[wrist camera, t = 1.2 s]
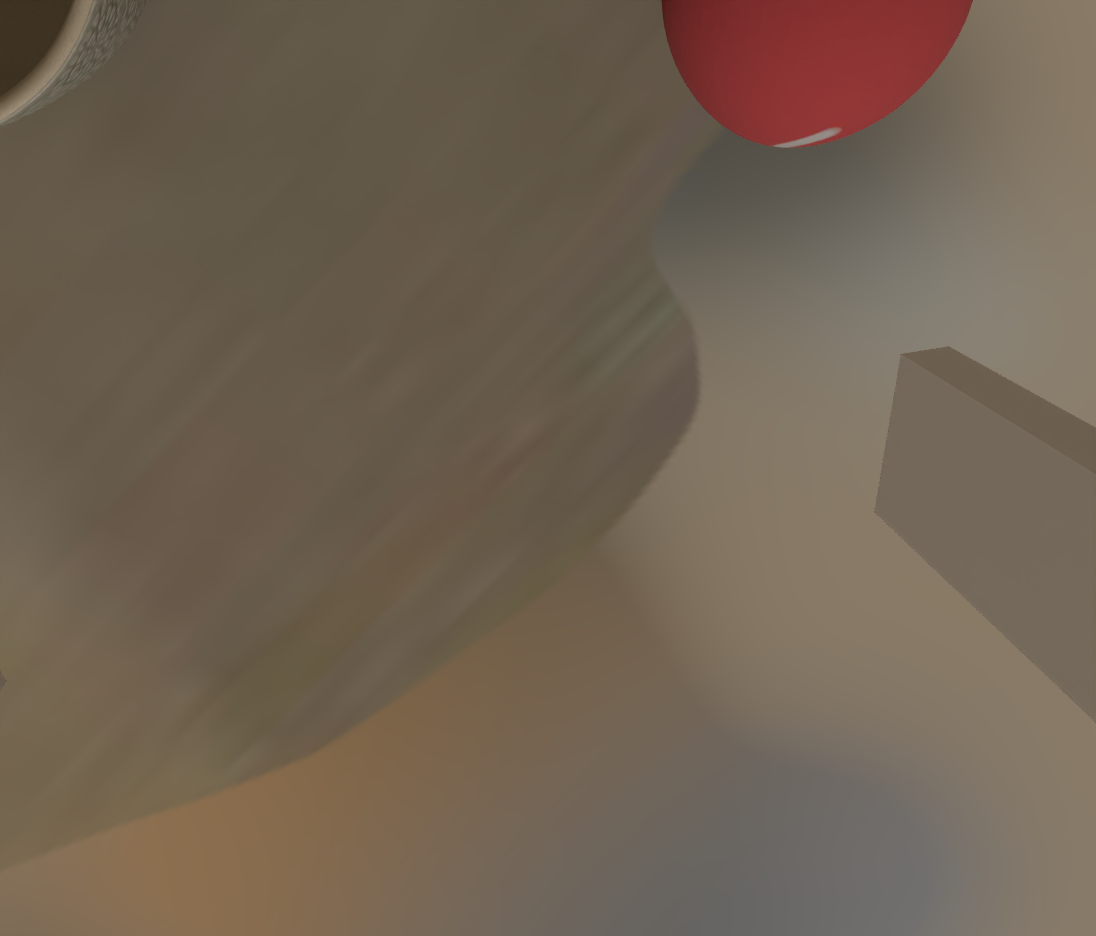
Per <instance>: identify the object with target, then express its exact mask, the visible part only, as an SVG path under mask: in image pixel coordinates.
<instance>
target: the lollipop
mask: <svg viewBox="0 0 1096 936" xmlns="http://www.w3.org/2000/svg"><path fill="white" fill-rule="evenodd" d="M972 1H973V0H662V11H663V20H664V27H665V31H666V36H667V40H668V44H669V47H670V50H671V53H672V56H673V59H674V61H675V64H676V66H677V68H678V70H679V72H680V74H681V76H682V78H683V80H684V81H685V83H686V85H687V87H688V88H689V90H690V91H691V93H692V94H693V95H694V97H695V98H696V99H697V101H698V102H699V103H700V104H701V105H702V107H703V108H704V109H705V110H706V111H707V112H708V113H709V114H710V115H711V116H712V117H713V118H714V119H716V120H717V121H718V122H719V123H720V124H722V125H723V126H724V127H726V128H727V129H729V130H731V131H732V132H734V133H735V134H737V135H739V136H741V137H743V138H746V139H748V140H750V141H753V142H756V143H760V144H763V145H767V146H774V147H791V148H792V147H806V146H813V145H818V144H822V143H827V142H831V141H834V140H837V139H840V138H843V137H846V136H848V135H851V134H853V133H855V132H858V131H859V130H862V129H864V128H866V127H868V126H870V125H872V124H873V123H875V122H877V121H879V120H880V119H882V118H884V117H885V116H887V115H888V114H889V113H891V112H892V111H894V110H895V109H897V108H898V107H899V106H900V105H902V104H903V103H904V102H905V101H906V100H908V99H909V98H910V97H911V96H912V95H913V94H914V93H915V92H916V91H917V90H918V89H919V88H920V87H921V86H922V85H923V84H924V83H925V82H926V81H927V80H928V79H929V78H930V77H931V75H932V74H933V73H934V72H935V70H936V69H937V68H938V67H939V65H940V64H941V63H942V61H943V60H944V59H945V57H946V56H947V54H948V52H949V51H950V49H951V48H952V46H953V44H954V42H955V41H956V39H957V37H958V36H959V33H960V31H961V29H962V27H963V25H964V23H965V21H966V18H967V16H968V13H969V10H970V7H971V4H972Z"/></svg>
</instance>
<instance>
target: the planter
mask: <svg viewBox="0 0 1096 936" xmlns="http://www.w3.org/2000/svg"><path fill="white" fill-rule="evenodd" d="M145 2H146V0H0V127H3V126H5V125H7V124H10V123H12V122H14V121H17V120H19V119H21V118H23V117H25V116H27V115H29V114H31V113H33V112H35V111H37V110H39V109H41V108H43V107H45V106H46V105H48V104H50V103H52V102H53V101H55V100H56V99H58V98H59V97H61V96H63V95H64V94H66V93H68V92H69V91H71V90H73V89H74V88H76V87H77V86H79V85H80V84H82V83H83V82H84V81H86V80H87V79H88V78H89V77H91V76H92V75H93V74H94V73H96V72H97V71H98V70H99V69H100V68H101V67H103V66H104V65H105V64H106V63H107V62H108V61H109V60H110V59H111V58H112V56H113V55H114V54H115V53H116V52H117V51H118V49H119V48H120V47H121V46H122V44H123V43H124V42H125V40H126V39H127V37H128V36H129V34H130V33H131V31H132V30H133V28H134V26H135V25H136V23H137V21H138V19H139V17H140V15H141V12H142V10H143V8H144V5H145Z"/></svg>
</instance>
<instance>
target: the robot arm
mask: <svg viewBox="0 0 1096 936" xmlns="http://www.w3.org/2000/svg"><path fill="white" fill-rule="evenodd" d="M874 512H875V513H876V514H877V515H878V516H879V517H880V518H881V519H882V520H883V521H884V522H885V523H886V524H887V525H888V526H889V527H891V528H892V529H893V530H894V531H895V532H896V533H897V534H898V535H899V536H900V537H901V538H902V539H903V540H904V541H905V542H906V543H907V544H908V545H909V546H911V547H912V548H913V549H914V550H915V551H916V552H917V553H918V554H919V555H920V556H921V557H922V558H923V559H924V560H925V561H926V562H927V563H928V564H929V565H930V566H931V567H933V568H934V569H935V570H936V571H937V572H938V573H939V574H940V575H941V576H942V577H943V578H944V579H945V580H946V581H947V582H948V583H949V584H950V585H952V586H953V587H954V588H955V589H956V590H957V591H958V592H959V593H960V594H961V595H962V596H963V597H964V598H965V599H966V600H967V601H968V602H969V603H970V604H972V606H974V607H975V608H976V609H977V610H978V611H979V612H980V613H981V614H982V615H983V616H984V617H985V618H986V619H987V620H988V621H989V622H990V623H991V624H992V625H994V626H995V627H996V628H997V629H998V630H999V631H1000V632H1001V633H1002V634H1003V635H1004V636H1005V637H1006V638H1007V639H1008V640H1009V641H1011V643H1012V644H1013V645H1015V646H1016V647H1017V648H1018V649H1019V650H1020V651H1021V652H1022V653H1023V654H1024V655H1025V656H1026V657H1027V658H1028V659H1029V660H1030V661H1031V662H1032V663H1034V664H1035V665H1036V666H1037V667H1038V668H1039V669H1040V670H1041V671H1042V672H1043V673H1044V674H1045V675H1046V676H1047V677H1048V678H1049V679H1050V680H1051V681H1052V682H1053V683H1055V684H1056V685H1057V686H1058V687H1059V688H1060V689H1061V690H1062V691H1063V692H1064V693H1065V694H1066V695H1067V696H1068V697H1069V698H1070V699H1071V700H1072V701H1073V702H1074V703H1076V704H1077V705H1078V706H1079V707H1080V708H1081V709H1082V710H1083V711H1084V712H1085V713H1086V714H1087V715H1088V716H1089V717H1090V718H1091V719H1092V720H1093V721H1095V722H1096V428H1095V427H1093V426H1091V425H1090V424H1088V423H1086V422H1084V421H1083V420H1081V419H1079V418H1077V417H1075V416H1074V415H1072V414H1070V413H1068V412H1066V411H1065V410H1062V409H1061V408H1059V407H1057V406H1055V405H1053V404H1052V403H1050V402H1048V401H1046V400H1045V399H1043V398H1041V397H1039V396H1037V395H1035V394H1034V393H1032V392H1030V391H1028V390H1026V389H1025V388H1023V387H1021V386H1019V385H1017V384H1015V383H1014V382H1012V381H1010V380H1008V379H1007V378H1005V377H1003V376H1001V375H999V374H998V373H996V372H994V371H992V370H990V369H989V368H987V367H985V366H983V365H981V364H979V363H978V362H976V361H974V360H972V359H971V358H969V357H967V356H965V355H963V354H962V353H960V352H958V351H956V350H954V349H952V348H951V347H943V348H936V349H930V350H924V351H918V352H912V353H905V354H901V357H900V363H899V369H898V375H897V381H896V387H895V393H894V398H893V405H892V411H891V417H890V422H889V429H888V435H887V440H886V446H885V452H884V458H883V464H882V470H881V476H880V482H879V487H878V494H877V499H876V506H875V511H874ZM5 682H6V679H5V678H4V676H3V674H2V673H1V671H0V692H1V690H2V688H3V686H4V684H5Z"/></svg>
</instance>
